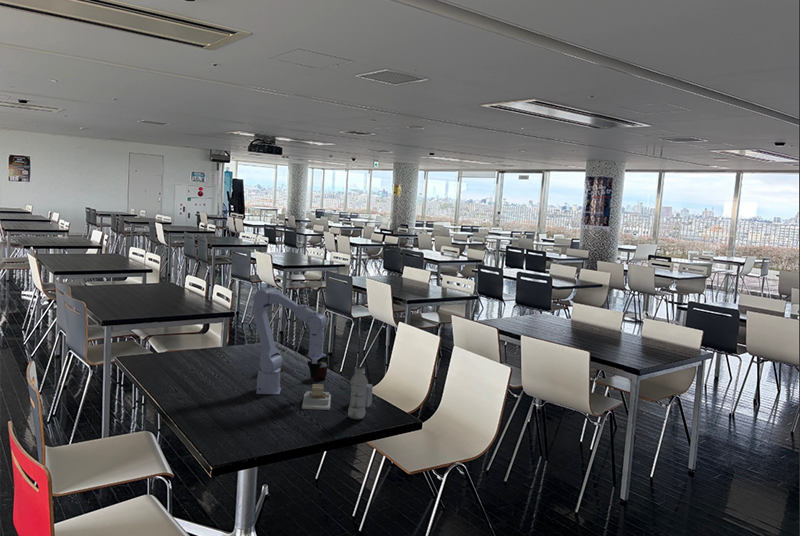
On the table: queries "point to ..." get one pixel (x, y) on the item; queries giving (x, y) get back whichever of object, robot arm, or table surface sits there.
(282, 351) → the food container
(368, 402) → the medicine box
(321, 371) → the mate gourd
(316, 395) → the keyed peg
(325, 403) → the keyed cradle
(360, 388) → the plastic bottle
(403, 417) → the table surface
